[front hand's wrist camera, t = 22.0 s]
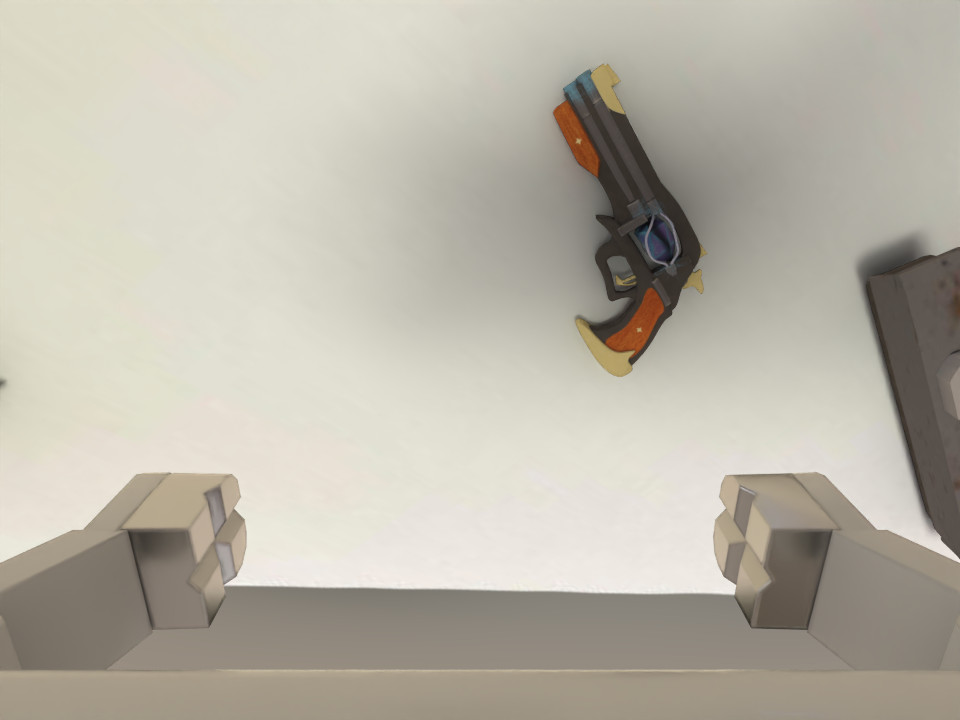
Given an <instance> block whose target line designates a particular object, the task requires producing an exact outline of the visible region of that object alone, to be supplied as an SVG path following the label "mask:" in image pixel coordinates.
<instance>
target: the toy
mask: <svg viewBox="0 0 960 720" xmlns="http://www.w3.org/2000/svg"><path fill="white" fill-rule="evenodd" d="M866 287H867V293H868V297H869V300H870V304H871V308H872V312H873V315H874V319H875V323H876V326H877V330H878V334H879V338H880V341H881V345H882V349H883V352H884V356H885V360H886V364H887V367H888V371H889V375H890V378H891V382H892V386H893V390H894V393H895V397H896V401H897V404H898V408H899V412H900V416H901V419H902V423H903V427H904V431H905V434H906V438H907V442H908V445H909V449H910V453H911V457H912V460H913V464H914V468H915V471H916V475H917V479H918V483H919V486H920V490H921V494H922V497H923V501H924V505H925V509H926V512H927V513H928V515H929V517H930V518H931V519H932V521H933V525H934V528H935V530H936V531H937V532H938V533H939V535H940V536H941V540H942V542H943V543H944V544H945V545H947V546H948V547H949V548H950V549H951V550H952V551H953V552H954V553H955V554H956V555H957V556H958V557H959V559H960V247H957V248H955V249H952V250H950V251H947V252H945V253H943V254H940V255H938V256H933V255H928V256H924V257H921V258H919V259H917V260H914V261H912V262H910V263H907V264H905V265H903V266H900V267H898V268H895V269H893V270H891V271H888V272H886V273H884V274H881V275H874V276H869V281H868V282H867V285H866Z"/></svg>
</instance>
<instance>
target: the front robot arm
mask: <svg viewBox="0 0 960 720" xmlns="http://www.w3.org/2000/svg"><path fill="white" fill-rule="evenodd" d="M240 497H241V495H240V491H239V486H238V481H237V479H236V478H235V477H234V476H233V475H232V474H200V473H173V474H172V473H142V474H137V475H136V476H135V477H134V478H133V479H132V480H131V481H130V482H129V483H128V484H127V485H126V486H125V487H124V488H123V489H122V490H121V491H120V492H119V493H118V494H117V495H116V496H115V497H114V498H113V499H112V500H111V501H110V502H109V503H108V505H107V506H106V507H105V508H104V509H103V510H102V511H101V512H100V513H99V514H98V515H97V516H96V517H95V518H94V519H93V520H92V521H91V522H90V523H89V524H88V525H87V526H86V527H85V528H84V529H83V530H72V531H70V532H68V533H65V534H63V535H61V536H59V537H56V538H54V539H52V540H50V541H48V542H45V543H43V544H41V545H39V546H37V547H34V548H32V549H30V550H28V551H26V552H23V553H21V554H19V555H17V556H15V557H12V558H10V559H8V560H6V561H4V562H1V563H0V720H960V563H958V562H956V561H954V560H952V559H950V558H947V557H945V556H943V555H941V554H939V553H936V552H934V551H932V550H930V549H928V548H925V547H923V546H921V545H919V544H917V543H914V542H912V541H910V540H908V539H906V538H903V537H901V536H899V535H897V534H895V533H892V532H890V531H888V530H877V529H876V528H875V527H874V526H873V525H872V524H871V523H870V522H869V521H868V520H867V519H866V518H865V517H864V516H863V515H862V514H861V513H860V512H859V511H858V510H857V509H856V508H855V506H854V505H853V504H852V503H851V502H850V501H849V500H848V499H847V498H846V497H845V496H844V495H843V494H842V493H841V492H840V491H839V490H838V489H837V488H836V487H835V486H834V485H833V484H832V483H831V482H830V481H829V480H828V479H827V477H826V476H825V475H822V474H820V473H817V472H812V473H786V474H748V475H725V478H724V480H723V482H722V484H721V490H720V495H719V497H720V499H721V501H722V502H723V504H724V506H725V507H726V509H725V510H724V511H723V512H722V513H721V514H720V516H719V517H718V518H717V519H716V520H715V527H714V535H713V540H714V551H715V556H716V560H717V563H718V566H719V568H720V570H721V572H722V574H723V576H724V577H725V578H727V579H728V580H730V581H731V582H733V583H734V584H736V591H735V596H734V597H735V599H736V600H737V602H738V604H739V606H740V608H741V610H742V612H743V613H744V615H745V617H746V619H747V621H748V623H749V625H750V627H751V628H762V629H798V630H808V631H807V632H808V633H809V634H810V635H811V636H813V637H814V638H815V639H816V640H818V641H819V642H820V643H821V644H823V645H824V646H825V647H826V648H828V649H829V650H830V651H831V652H833V653H834V654H835V655H837V656H838V657H839V658H840V659H842V660H843V661H844V662H845V663H847V664H848V665H849V666H850V667H852V668H853V669H854V670H106V669H107V668H109V667H110V666H111V665H112V664H114V663H115V662H116V661H117V660H119V659H120V658H121V657H123V656H124V655H125V654H126V653H127V652H129V651H130V650H131V649H133V648H134V647H135V646H136V645H138V644H139V643H140V642H141V641H143V640H144V639H145V638H146V637H148V636H149V635H150V634H151V633H152V630H162V629H196V628H209V627H210V625H211V623H212V621H213V619H214V617H215V615H216V613H217V612H218V610H219V608H220V606H221V604H222V602H223V601H224V599H225V591H224V584H226V583H227V582H229V581H230V580H232V579H233V578H235V577H236V576H237V574H238V572H239V570H240V568H241V566H242V564H243V559H244V555H245V550H246V526H245V520H244V519H243V518H242V517H241V516H240V514H239V513H238V512H237V511H236V510H235V509H234V507H235V506H236V504H237V502H238V501H239V499H240Z"/></svg>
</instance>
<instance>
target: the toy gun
mask: <svg viewBox="0 0 960 720" xmlns="http://www.w3.org/2000/svg"><path fill="white" fill-rule="evenodd" d="M576 80H577V82H578V84H577V82H576V81H574V82H572V83H570V84H569V85H568V86H566V87H565V88H563V90H564V92H565V94H564V95H565V97H566V99H567V101H565V102H564V103H562V104H561V105H559V106H558V107H557V108H556V109H555V110H554V112H553V113H554V116H555V118H556V120H557V122H558V124H559V126H560V128H561V130H562V132H563V134H564V136H565V138H566V140H567V142H568V144H569V146H570V148H571V150H572V152H573V154H574V156H575V158H576V159H577V161H578V163H579V164H580V165H581V166H583V167H584V168H585V169H587V170H588V171H589V172H591V173H592V174H593V175H595V176H596V177H597V178H598V179H599V180H600V182H601V184H602V186H603V188H604V189H605V191H606V193H607V195H608V197H609V199H610V201H611V204H612V207H613V212H614V218H613V217H610V216H605V215H596V219H597V220H598V221H599V222H600V223H601V224H602V225H604V226H605V227H606V228H607V229H608V231H609V232H610V233H611V234H612V239H611V240H610V241H609V242H607V243H605V244H604V245H602V246H601V247H600V248H599V249H598V251H597V253H596V256H595V260H596V263H597V265H598V267H599V269H600V270H601V272H602V275H603V277H604V280H605V284H606V289H607V294H608V299H609V300H610V301H614V300H617V299H620V298H625V297H631V298H632V299H634V301H633V303H632V304H631V305H630V307H629V308H628V309H627V311H626V312H625V313H624V314H623V315H622V316H621V317H620V318H619V319H618V320H616V321H614V322H612V323H610V324H607V325H603V326H599V327H597V326H591V325H590V324H588V323H587V322H586V321H584V320H582V319H580V318H579V319H577V320H576V321H575V323H576V325H577V328H578V330H579V332H580V334H581V336H582V338H583V339H584V341H585V343H586V344H587V346H588V348H589V349H590V351H591V352H592V354H593V355H594V357H595V358H596V360H597V361H598V362H599V363H600V364H601V365H602V367H603V368H604V369H605V370H606V371H608V372H609V373H611V374H612V375H614V376H618V377H622V376H625V375H626V374H628V373H630V372H631V371H632V365H633V364H634V363H635V362H636V361H637V360H638V359H639V358H640V356H641V355H642V354H643V353H644V352H645V351H646V349H647V348H648V346H649V345H650V343H651V342H652V340H653V339H654V337H655V335H656V333H657V332H658V330H659V328H660V327H661V325H662V324H663V322H664V321H665V320H666V319H667V318H668V317H670V316H671V315H672V310H673V309H674V308H675V307H676V305H677V303H678V300H679V296H680V292H681V289H685V288H688V287H690V286H694V287H695V288H696V289H697V290H698V291H699V292H700V293H701V294H702V293H703V290H704V288H703V283H702V280H701V275H702V271H701V270H700V269H699V270H697V271H696V272H693V269H694V268H695V266H696V264H697V263H698V260H699V258H700V257H702V256H704V255H706V254H707V252H706V251H705V250H704V248H703V247H702V246H701V244H700V243H699V241H698V239H697V237H696V235H695V233H694V231H693V229H692V227H691V225H690V223H689V221H688V219H687V218H686V216H685V214H684V212H683V210H682V209H681V207H680V205H679V204H678V203H677V201H676V200H675V199H674V197H673V196H672V195H671V194H670V193H669V191H668V190H667V189H666V188H665V187H664V186H663V184H662V183H661V182H660V180H659V178H658V176H657V175H656V173H655V171H654V169H653V167H652V165H651V163H650V161H649V159H648V157H647V155H646V154H645V152H644V150H643V148H642V146H641V144H640V142H639V140H638V138H637V136H636V134H635V133H634V131H633V129H632V127H631V125H630V123H629V121H628V119H627V117H626V114H625V112H624V110H623V108H622V106H621V104H620V102H619V100H618V98H617V96H616V94H615V93H614V91H613V89H612V86H614V85H615V84H617V83H618V82H620V79H619V78H618V77H617V75H616V74H615V73H614V71H613V70H612V69H611V68H610V66H609V65H608V64H607V65H604V64H602V65H601V66H599V67H598V68H596V69H595V70H594V72H593V73H591V71H590V69H589V70H587V71H586V72H584V73H583V74H581V75H580V76H578V77H577V78H576ZM662 212H664V213H665V214H666V215H667V216H668V217H667V216H666V215H664V214H663V213H662ZM658 213H660V214H661V215H662V216H663V217H664V218H665V219H667V220H668V222H669V223H670V225H671V227H672V230H673V233H672V232H671V231H670V229H669V228H668V226H667V225H666V224H665V222H664V221H662V220H661V219H660V218H659V215H658ZM648 214H649V215H651V216H650V217H649V218H647V217H646V215H648ZM655 214H656V217H657V218H654V215H655ZM637 227H638V228H637ZM635 228H637V230H636V231H635V233H634V234H635V235H636V236H637V238H638V239H639V240H640V242H641V243H642V247H643V249H644V251H645V252H646V254H647V255H648V256H649V257H650V259H651V260H652V261H654V262H656V263H659V264H662V265H660V266H658V267H657V268H655V269H653V270H650V269H649V267H648V265H647V263H646V261H645V260H644V258H643V256H642V254H641V253H640V251H639V249H638V248H637V246H636V244H635V243H634V241H633V240H632V239H631V237H630V236H629V234H628V232H630V231H632V230H633V229H635ZM675 230H676V232H677V234H678V237H679V240H680V244H681V254H680V255H679V256H678V254H679V245H678V240H677V236H676V232H675ZM673 234H674V235H673ZM675 245H676V248H677V252H676V255H675V257H674V258H673V256H674V250H675ZM612 256H623V257H626V259H627V261H628V263H629V265H630V266H631V268H632V270H633V272H634V274H635V275H633V276H631V277H629V278H626V279H624V280H621V279H620V278H619V277H618V276H617V275H616V277H615V280H616V284H617V285H622V286H629V285H634V284H636V286H634V287H633V288H631V289H628V290H626V291H616V290H615V287H614V283H613V279H612V275H611V271H610V268H609V266H608V264H607V262H606V261H607V259H608V258H610V257H612ZM634 278H636V281H634V282H631V283H627V284H624V282H627V281H629V280H632V279H634Z"/></svg>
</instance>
